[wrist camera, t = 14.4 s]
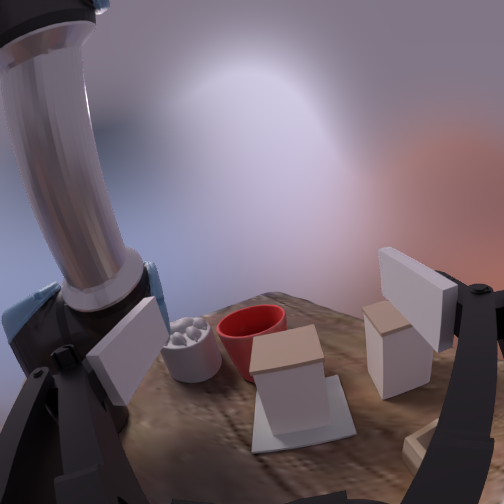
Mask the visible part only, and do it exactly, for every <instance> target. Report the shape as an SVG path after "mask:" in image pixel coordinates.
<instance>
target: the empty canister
mask: <svg viewBox="0 0 504 504" xmlns="http://www.w3.org/2000/svg"><path fill="white" fill-rule="evenodd" d="M362 311H363V313H364V320H365V331H366V345H367V362H368V372H369V374H370V376H371V378H372V380H373V382H374V384H375V386H376V388H377V390H378V392H379V394H380V396H381V398H382V400H384V399H387V398H390V397H393V396H396V395H399V394H401V393H404V392H407V391H409V390H412V389H414V388H417V387H419V386H422V385H424V384H427V383H429V382H430V376H431V368H432V359H433V347H432V346H431V345H430V344H429V343H428V342H427V341H426V340H425V339H424V337H423V336H422V335H421V334H420V333H419V332H418V331H417V330H416V329H415V328H414V327H413V326H412V325H411V323H410V322H409V321H408V320H407V319H406V318H405V317H404V316H403V315H402V314H401V313H400V312H399V311H398V310H397V309H396V308H395V307H394V306H393V305H392V304H391V303H390V302H389V301H388V300H385V301H382V302H378V303H375V304H372V305H368V306H364V307H362Z"/></svg>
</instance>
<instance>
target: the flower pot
mask: <svg viewBox="0 0 504 504" xmlns="http://www.w3.org/2000/svg"><path fill="white" fill-rule="evenodd" d="M286 330H287V323H286V313H285V311H284V309H283V308H281V307H279V306H276V305H257V306H251V307H247V308H244V309H241V310H238V311H235V312H233V313H231V314H229V315H227V316H226V317H225V318H223V319H222V320H221V321H220V322H219V324H218V325H217V333H218V335H219V337H220V339H221V341H222V343H223V345H224V346H225V348H226V350H227V352H228V354H229V355H230V357H231V359H232V361H233V362H234V364H235V366H236V367H237V369H238V370H239V372H240V374H241V375H242V377H243V378H244V379H245V380H247V381H249V382H253V383H255V381H254V378H253V376H250V373H249V369H250V362H251V354H252V346H253V338H254V337H256V336H261V335H266V334H271V333H276V332H281V331H286Z"/></svg>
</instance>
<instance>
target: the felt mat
mask: <svg viewBox="0 0 504 504" xmlns="http://www.w3.org/2000/svg"><path fill="white" fill-rule="evenodd" d="M325 381H326V388H327V395H328V403H329V410H330V418H331V425H327V426H322V427H318V428H313V429H308V430H302V431H297V432H291V433H285V434H278V435H273V434H272V432H271V429H270V426H269V423H268V420H267V417H266V414H265V411H264V408H263V405H262V402H261V399H260V396H259V393H258V391H257V393H256V405H255V417H254V429H253V440H252V451H251V452H252V454H254V453H264V452H273V451H281V450H288V449H294V448H300V447H306V446H311V445H316V444H321V443H326V442H330V441H335V440H339V439H343V438H347V437H351V436H354V435H357V433H356V429H355V426H354V423H353V420H352V417H351V414H350V410H349V407H348V404H347V401H346V398H345V395H344V392H343V389H342V386H341V383H340V380H339V377H338V375H334V376H330V377H326V378H325Z"/></svg>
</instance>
